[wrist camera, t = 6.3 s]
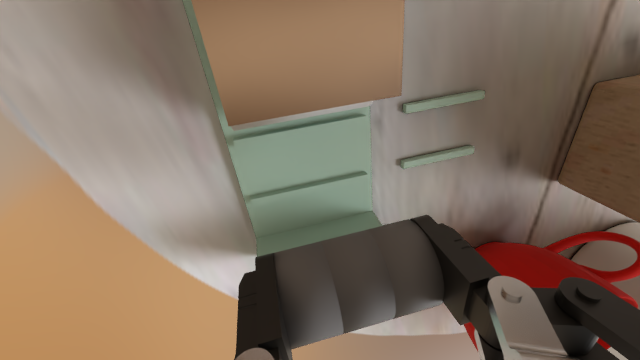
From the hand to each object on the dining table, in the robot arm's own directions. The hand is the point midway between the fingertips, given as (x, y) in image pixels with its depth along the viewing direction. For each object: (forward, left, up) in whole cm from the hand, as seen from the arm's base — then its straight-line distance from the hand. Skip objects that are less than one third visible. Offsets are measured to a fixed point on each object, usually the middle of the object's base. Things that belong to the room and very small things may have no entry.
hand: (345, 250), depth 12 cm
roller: (0, 0, -1) cm, 1 cm away
